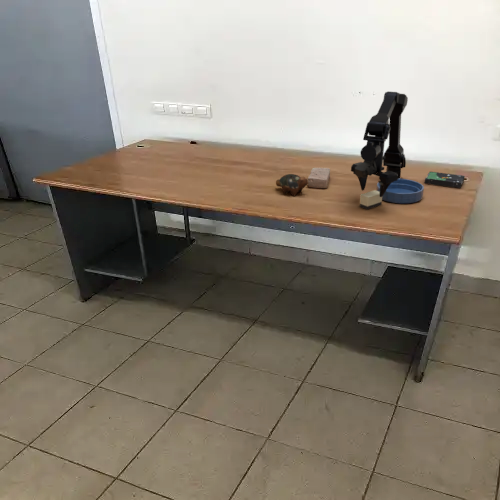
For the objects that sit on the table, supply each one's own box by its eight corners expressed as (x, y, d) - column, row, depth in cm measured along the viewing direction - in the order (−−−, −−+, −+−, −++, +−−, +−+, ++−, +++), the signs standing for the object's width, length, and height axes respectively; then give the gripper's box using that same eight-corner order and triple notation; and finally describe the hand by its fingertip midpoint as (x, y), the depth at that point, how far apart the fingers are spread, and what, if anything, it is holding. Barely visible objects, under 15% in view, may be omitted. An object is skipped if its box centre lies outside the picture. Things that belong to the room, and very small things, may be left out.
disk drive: (463, 181, 220) (428, 176, 226) (464, 175, 219) (429, 170, 225) (460, 189, 212) (424, 183, 218) (461, 182, 210) (425, 177, 217)
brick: (311, 176, 230) (312, 166, 228) (330, 177, 229) (330, 167, 226) (307, 188, 216) (307, 178, 214) (326, 189, 214) (327, 179, 212)
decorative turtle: (303, 199, 205) (301, 180, 201) (271, 195, 213) (269, 177, 209) (313, 190, 212) (312, 172, 208) (282, 187, 220) (280, 169, 216)
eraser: (367, 209, 194) (368, 197, 191) (359, 206, 196) (360, 194, 194) (381, 204, 198) (382, 192, 195) (373, 202, 201) (374, 190, 198)
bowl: (367, 191, 211) (368, 181, 209) (405, 186, 216) (406, 176, 214) (391, 207, 195) (393, 196, 193) (431, 200, 200) (433, 190, 198)
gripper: (341, 152, 191) (339, 191, 198) (379, 164, 177) (375, 205, 184) (362, 147, 196) (359, 185, 203) (400, 158, 182) (396, 198, 190)
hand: (371, 193), depth 195 cm, fingers open, 9 cm apart
